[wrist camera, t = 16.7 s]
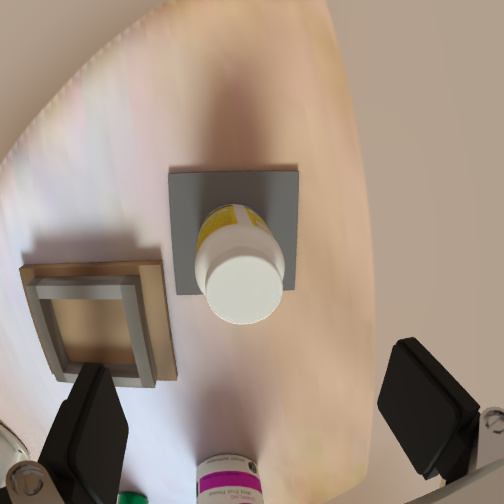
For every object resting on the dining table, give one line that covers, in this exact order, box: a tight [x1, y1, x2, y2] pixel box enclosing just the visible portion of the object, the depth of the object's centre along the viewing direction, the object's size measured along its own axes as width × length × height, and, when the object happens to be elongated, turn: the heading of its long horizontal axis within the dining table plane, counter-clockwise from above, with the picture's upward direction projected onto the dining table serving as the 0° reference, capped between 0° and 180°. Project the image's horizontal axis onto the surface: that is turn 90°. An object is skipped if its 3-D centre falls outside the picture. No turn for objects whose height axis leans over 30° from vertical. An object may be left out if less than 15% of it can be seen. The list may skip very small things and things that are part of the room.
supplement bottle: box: [195, 204, 285, 324], centre depth 21 cm, size 5×5×10 cm
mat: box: [168, 171, 299, 295], centre depth 26 cm, size 10×10×1 cm
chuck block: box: [19, 260, 178, 388], centre depth 26 cm, size 14×12×3 cm
